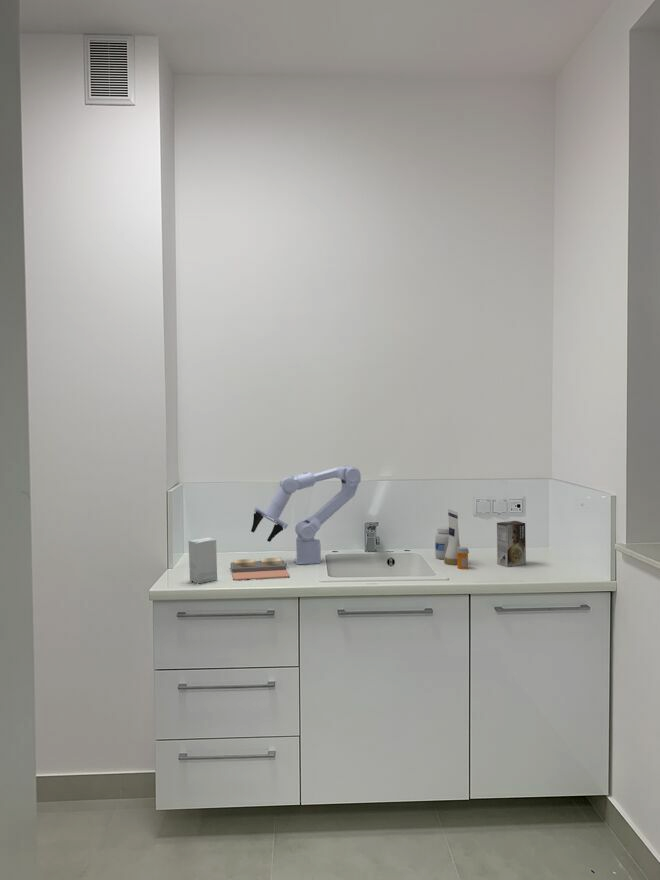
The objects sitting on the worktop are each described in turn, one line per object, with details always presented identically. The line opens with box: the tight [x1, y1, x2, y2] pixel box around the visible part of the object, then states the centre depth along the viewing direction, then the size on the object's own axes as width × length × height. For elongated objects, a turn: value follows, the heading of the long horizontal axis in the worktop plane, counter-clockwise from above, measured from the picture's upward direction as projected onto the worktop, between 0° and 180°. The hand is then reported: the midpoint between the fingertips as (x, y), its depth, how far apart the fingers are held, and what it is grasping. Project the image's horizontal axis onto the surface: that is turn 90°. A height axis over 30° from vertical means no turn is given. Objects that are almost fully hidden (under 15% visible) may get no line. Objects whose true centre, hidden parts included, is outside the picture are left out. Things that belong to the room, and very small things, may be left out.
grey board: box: [230, 560, 287, 574], centre depth 265 cm, size 20×11×2 cm, turn 101°
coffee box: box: [496, 520, 527, 568], centre depth 268 cm, size 9×6×16 cm
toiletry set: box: [434, 509, 470, 570], centre depth 273 cm, size 25×8×20 cm, turn 11°
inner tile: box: [259, 557, 284, 566], centre depth 265 cm, size 8×6×2 cm
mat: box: [231, 569, 291, 581], centre depth 254 cm, size 20×10×1 cm, turn 101°
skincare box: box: [188, 536, 218, 584], centre depth 247 cm, size 8×6×15 cm
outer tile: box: [233, 558, 256, 567], centre depth 263 cm, size 8×6×2 cm
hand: (260, 536), depth 272 cm, fingers open, 7 cm apart
